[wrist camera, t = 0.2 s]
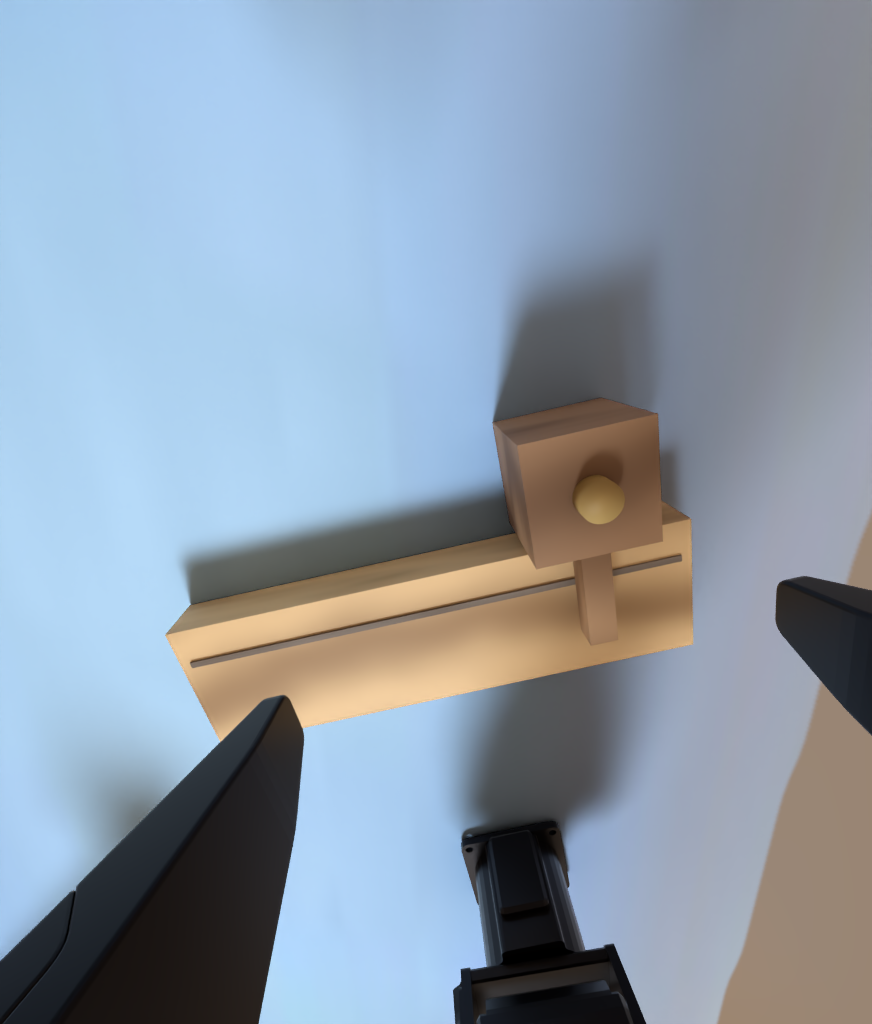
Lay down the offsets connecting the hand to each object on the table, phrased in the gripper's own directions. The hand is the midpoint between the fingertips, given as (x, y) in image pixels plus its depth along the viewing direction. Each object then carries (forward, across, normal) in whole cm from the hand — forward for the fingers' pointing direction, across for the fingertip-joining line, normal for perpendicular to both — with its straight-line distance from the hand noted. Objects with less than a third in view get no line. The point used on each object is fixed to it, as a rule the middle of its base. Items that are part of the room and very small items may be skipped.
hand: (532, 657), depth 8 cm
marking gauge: (+14, -4, +3) cm, 15 cm away
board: (+14, +3, +7) cm, 16 cm away
